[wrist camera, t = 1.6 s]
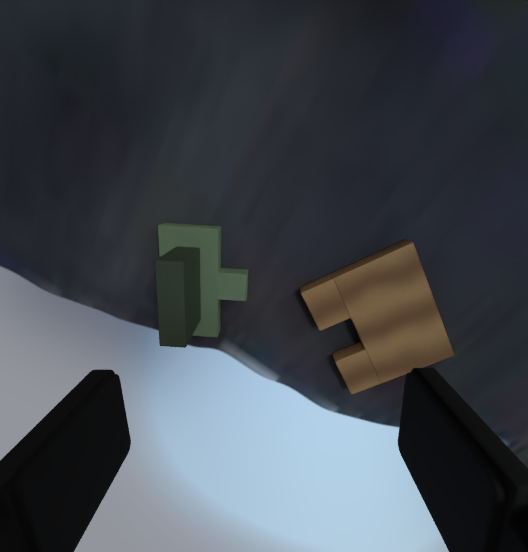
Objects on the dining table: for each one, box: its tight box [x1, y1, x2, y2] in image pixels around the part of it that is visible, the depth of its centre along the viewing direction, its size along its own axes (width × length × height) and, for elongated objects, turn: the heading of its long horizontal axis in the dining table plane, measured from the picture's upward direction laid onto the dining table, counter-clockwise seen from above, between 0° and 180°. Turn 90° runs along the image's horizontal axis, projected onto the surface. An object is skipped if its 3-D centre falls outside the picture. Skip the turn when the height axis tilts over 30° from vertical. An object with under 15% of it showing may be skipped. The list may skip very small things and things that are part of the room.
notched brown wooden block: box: [300, 239, 454, 394], centre depth 32 cm, size 14×12×2 cm
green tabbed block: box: [155, 223, 249, 347], centre depth 29 cm, size 12×9×8 cm
